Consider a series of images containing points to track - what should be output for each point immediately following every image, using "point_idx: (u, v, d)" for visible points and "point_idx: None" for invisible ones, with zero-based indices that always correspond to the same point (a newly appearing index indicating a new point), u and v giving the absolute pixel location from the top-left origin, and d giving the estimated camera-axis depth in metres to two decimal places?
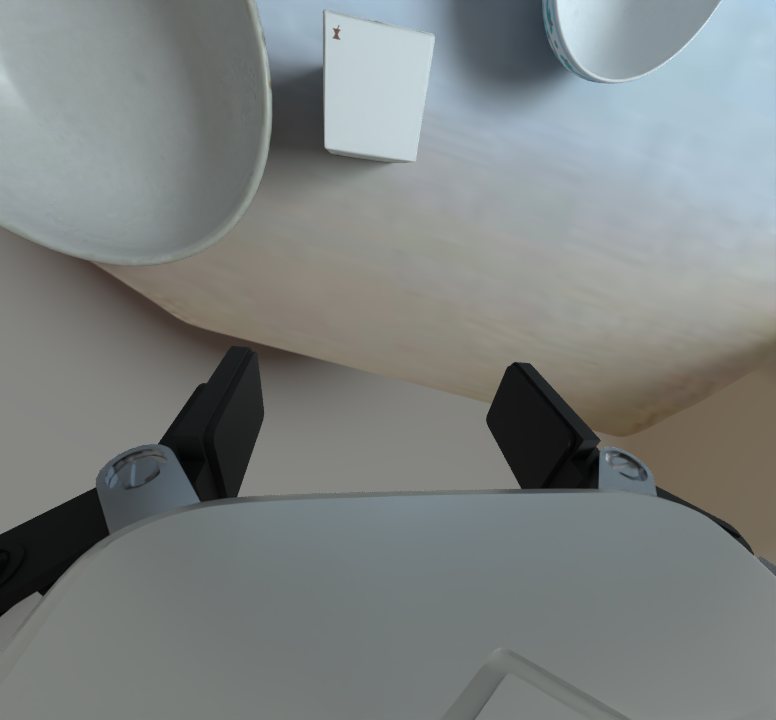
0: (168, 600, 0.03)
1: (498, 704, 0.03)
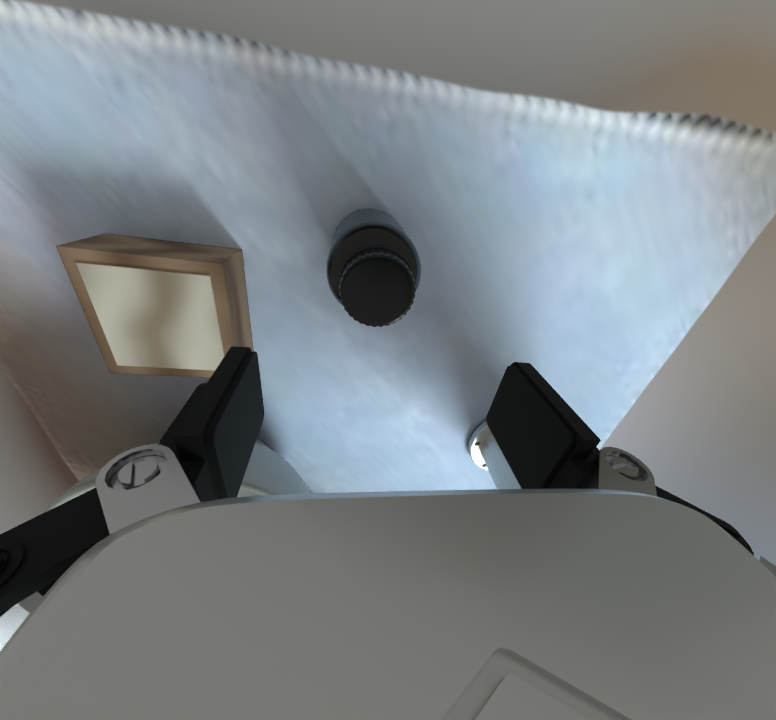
0: (168, 600, 0.03)
1: (498, 704, 0.03)
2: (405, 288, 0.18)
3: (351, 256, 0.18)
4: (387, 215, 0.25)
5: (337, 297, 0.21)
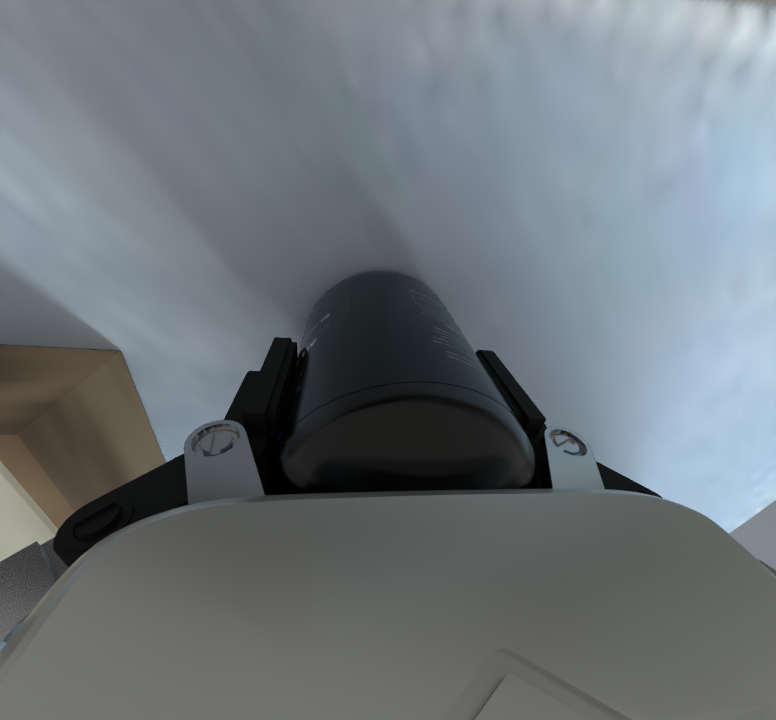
0: (168, 600, 0.03)
1: (498, 704, 0.03)
2: None
3: None
4: (423, 293, 0.11)
5: None
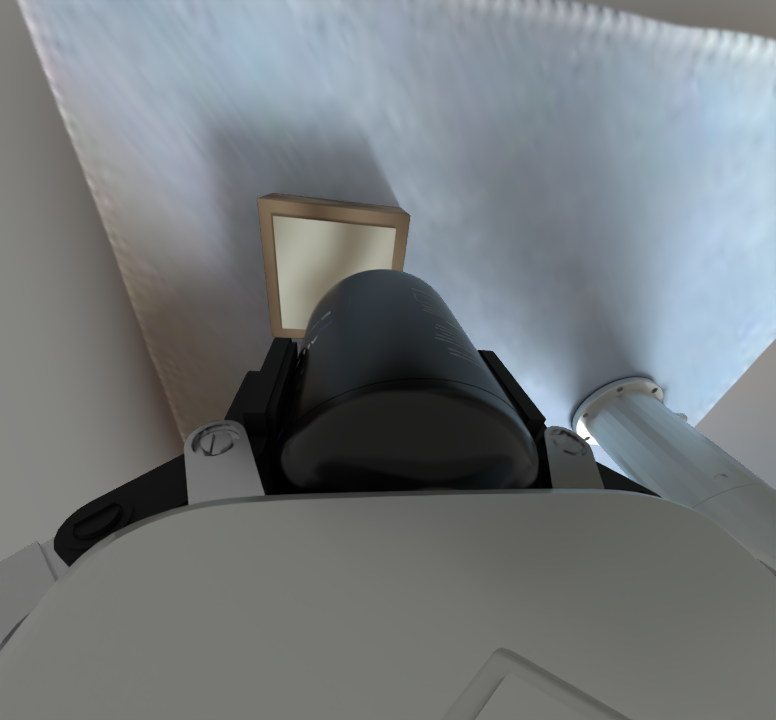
0: (168, 600, 0.03)
1: (498, 704, 0.03)
2: None
3: None
4: (424, 291, 0.11)
5: None
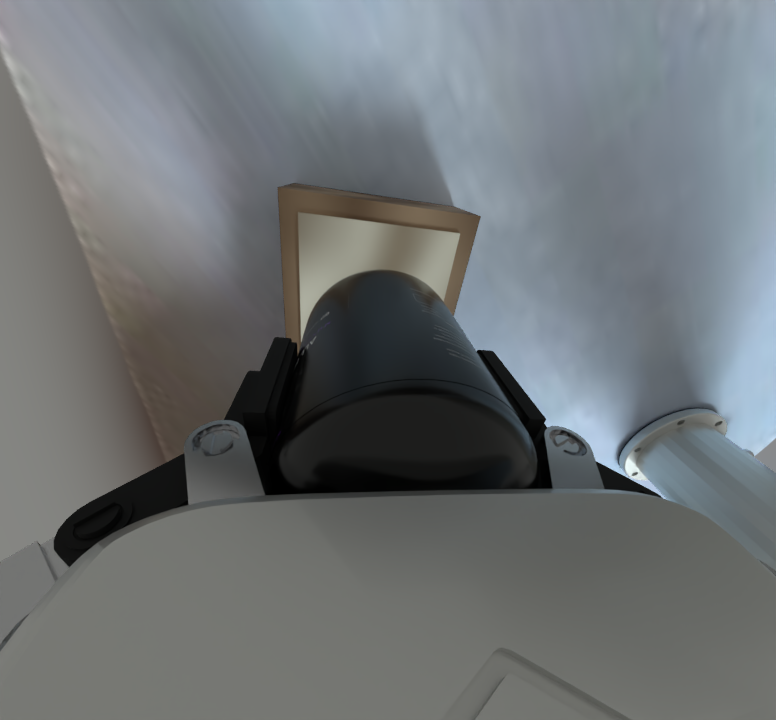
0: (168, 600, 0.03)
1: (498, 704, 0.03)
2: None
3: None
4: (423, 291, 0.11)
5: None
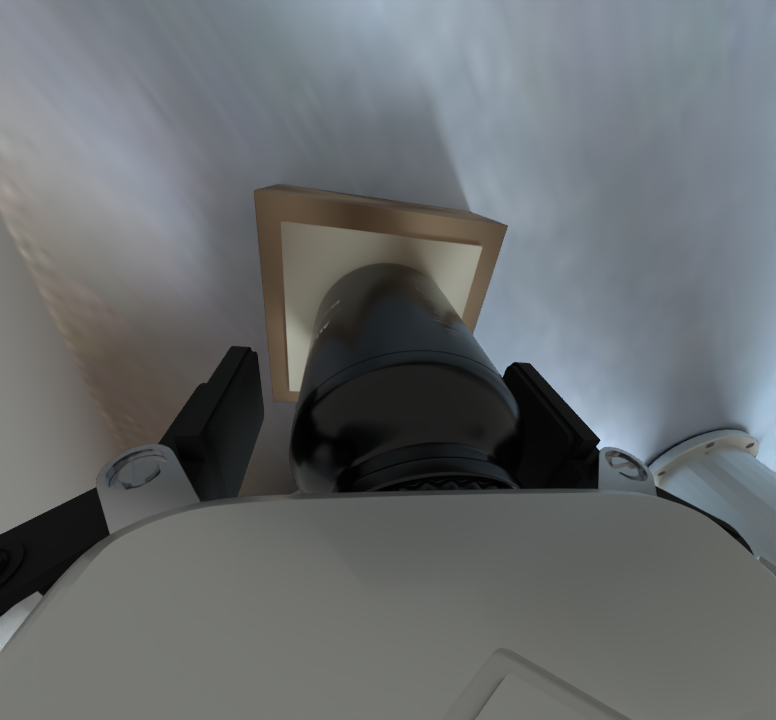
0: (168, 600, 0.03)
1: (498, 704, 0.03)
2: None
3: None
4: (424, 282, 0.12)
5: None
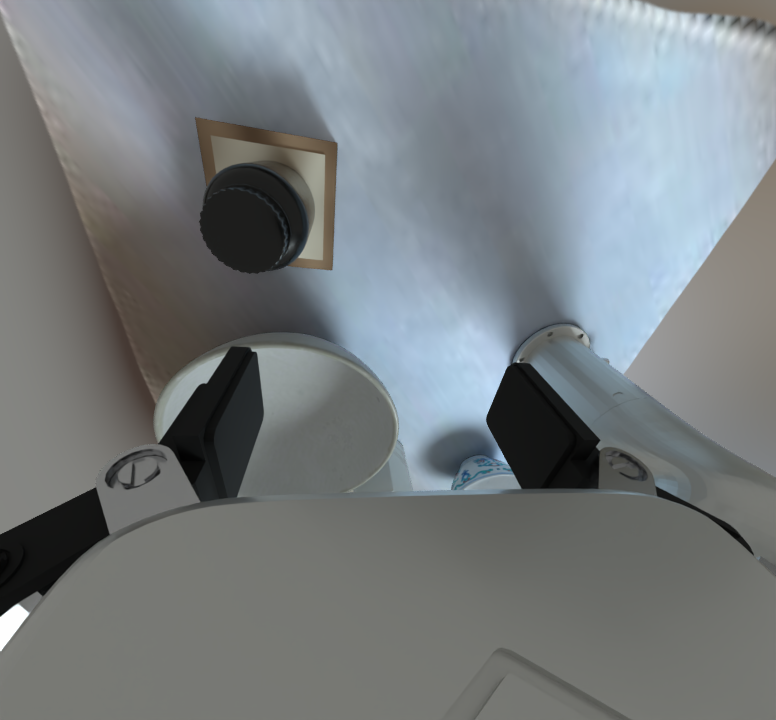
0: (168, 600, 0.03)
1: (498, 704, 0.03)
2: (272, 229, 0.17)
3: None
4: (284, 165, 0.24)
5: None
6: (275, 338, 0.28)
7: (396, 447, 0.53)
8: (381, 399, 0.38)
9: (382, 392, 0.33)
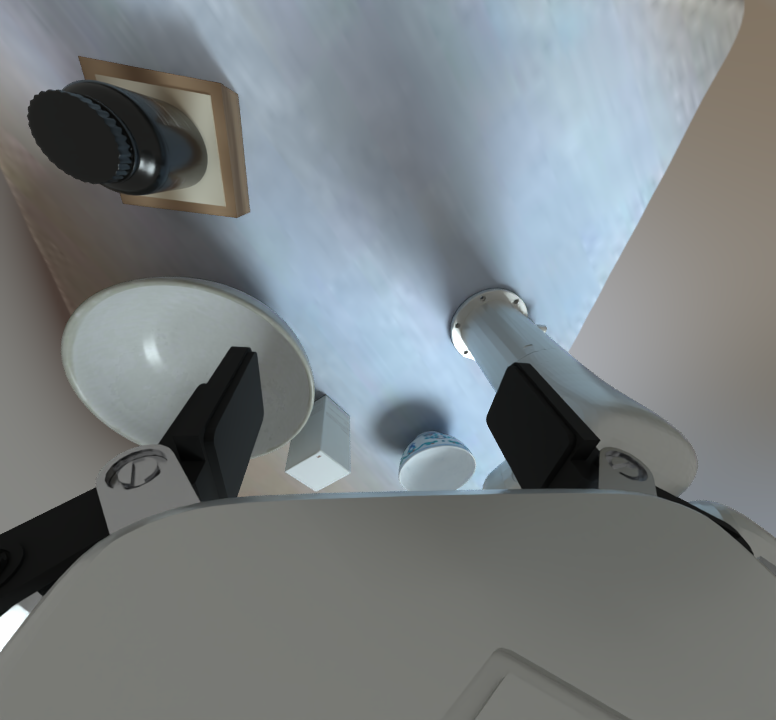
0: (168, 600, 0.03)
1: (498, 704, 0.03)
2: (102, 134, 0.18)
3: None
4: (161, 101, 0.25)
5: None
6: (171, 277, 0.29)
7: (339, 416, 0.53)
8: None
9: (287, 338, 0.33)
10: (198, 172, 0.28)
